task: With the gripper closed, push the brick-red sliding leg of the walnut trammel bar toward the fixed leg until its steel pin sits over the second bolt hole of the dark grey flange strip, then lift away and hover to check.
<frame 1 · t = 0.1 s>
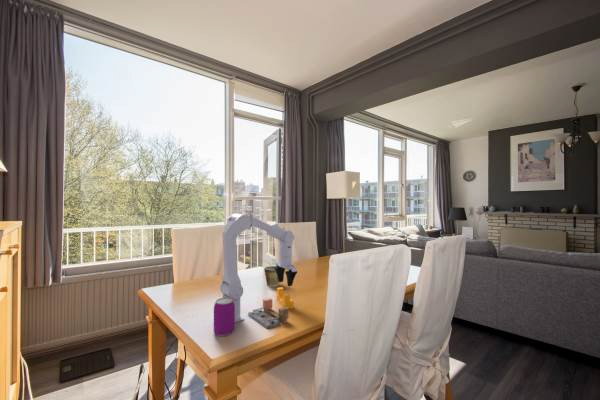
hand: (285, 283, 137), 10 cm above the table, tool pointing down, fingers open, 7 cm apart
trammel bar: (274, 316, 123), on the table
flange strip: (263, 319, 120), on the table
beverage can: (224, 332, 109), on the table
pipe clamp: (285, 304, 138), on the table
sliding leg: (262, 305, 126), point 4 cm above the table, slide at 0.0 cm
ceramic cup: (273, 284, 169), on the table
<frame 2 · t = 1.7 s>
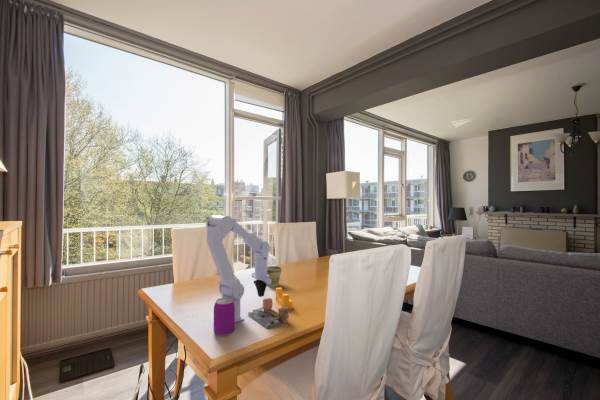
hand: (261, 296, 133), 5 cm above the table, tool pointing down, fingers closed
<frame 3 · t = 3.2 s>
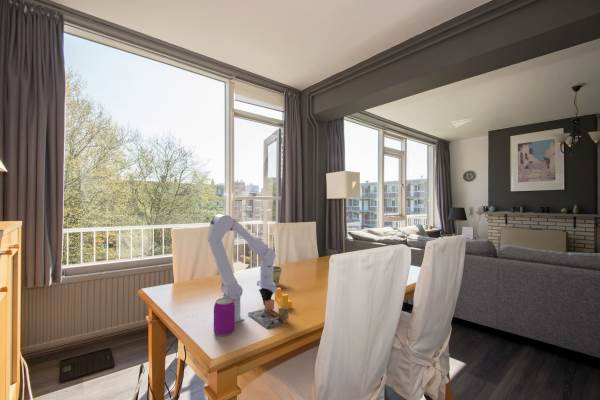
hand: (266, 305, 129), 3 cm above the table, tool pointing down, fingers closed
sliding leg: (263, 306, 125), point 4 cm above the table, slide at 1.6 cm, touching gripper
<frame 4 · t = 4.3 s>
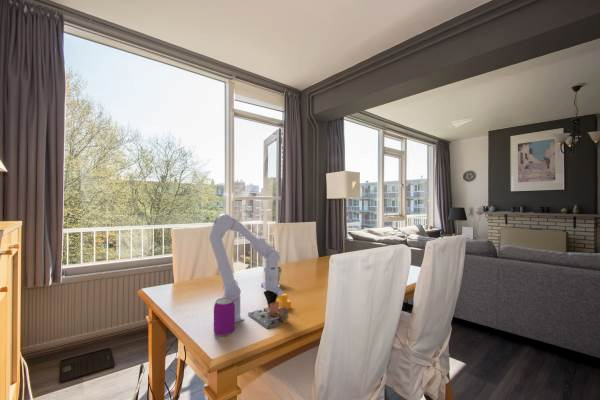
hand: (271, 307, 125), 3 cm above the table, tool pointing down, fingers closed
sliding leg: (268, 309, 122), point 4 cm above the table, slide at 5.5 cm, touching gripper
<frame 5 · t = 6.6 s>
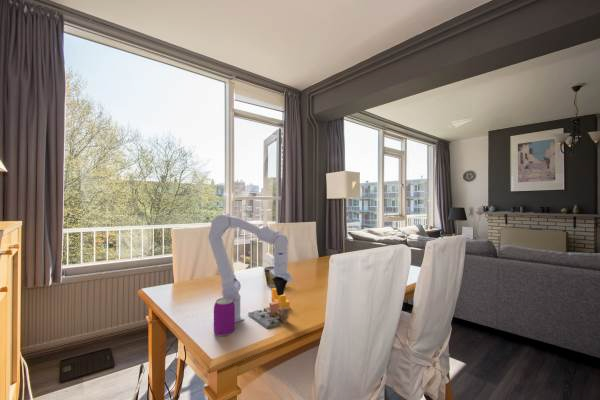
hand: (280, 294, 122), 10 cm above the table, tool pointing down, fingers closed
sliding leg: (268, 309, 122), point 4 cm above the table, slide at 5.5 cm
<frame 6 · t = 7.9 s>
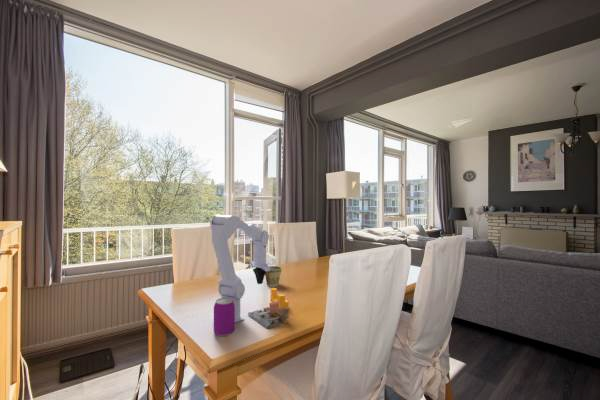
hand: (259, 283, 137), 10 cm above the table, tool pointing down, fingers closed
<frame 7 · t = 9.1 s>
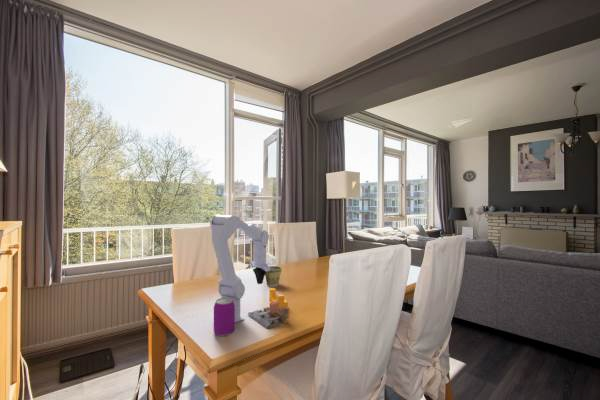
hand: (259, 283, 137), 10 cm above the table, tool pointing down, fingers closed
at the end: sliding leg slide at 5.5 cm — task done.
